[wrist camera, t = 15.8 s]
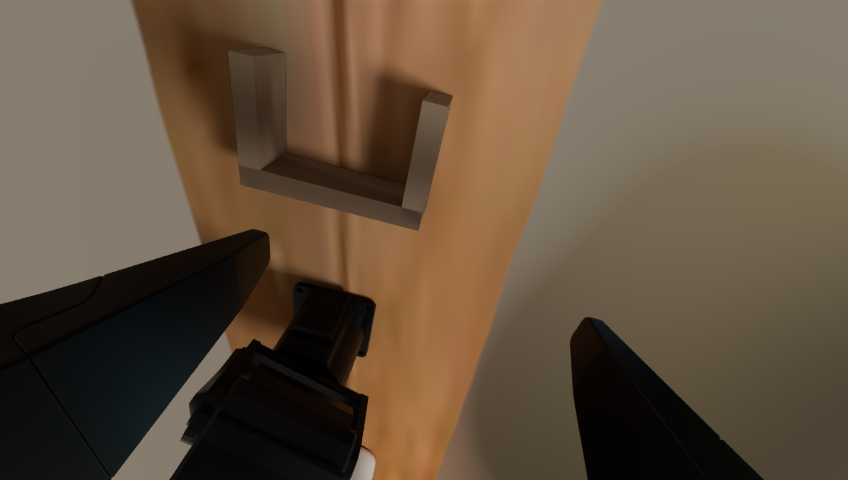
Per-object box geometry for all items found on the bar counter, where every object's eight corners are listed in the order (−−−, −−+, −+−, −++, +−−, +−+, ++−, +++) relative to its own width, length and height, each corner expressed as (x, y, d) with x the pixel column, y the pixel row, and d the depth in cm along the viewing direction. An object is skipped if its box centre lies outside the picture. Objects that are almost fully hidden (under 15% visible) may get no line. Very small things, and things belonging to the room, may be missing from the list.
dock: (425, 207, 22) (418, 230, 19) (268, 166, 22) (240, 184, 19) (452, 96, 18) (448, 107, 15) (263, 47, 18) (227, 50, 15)
